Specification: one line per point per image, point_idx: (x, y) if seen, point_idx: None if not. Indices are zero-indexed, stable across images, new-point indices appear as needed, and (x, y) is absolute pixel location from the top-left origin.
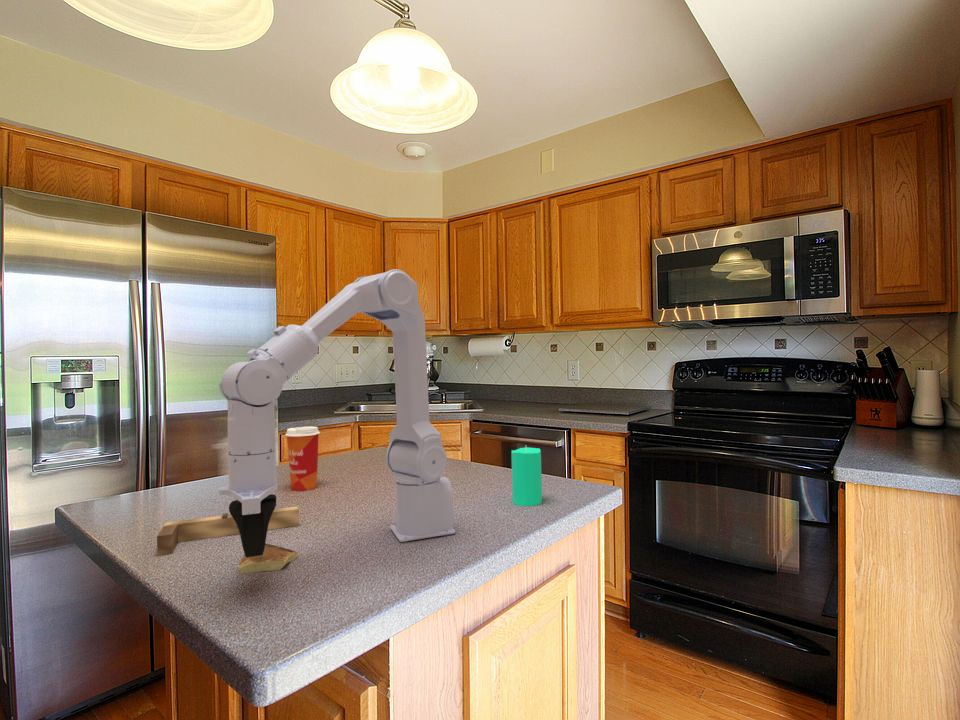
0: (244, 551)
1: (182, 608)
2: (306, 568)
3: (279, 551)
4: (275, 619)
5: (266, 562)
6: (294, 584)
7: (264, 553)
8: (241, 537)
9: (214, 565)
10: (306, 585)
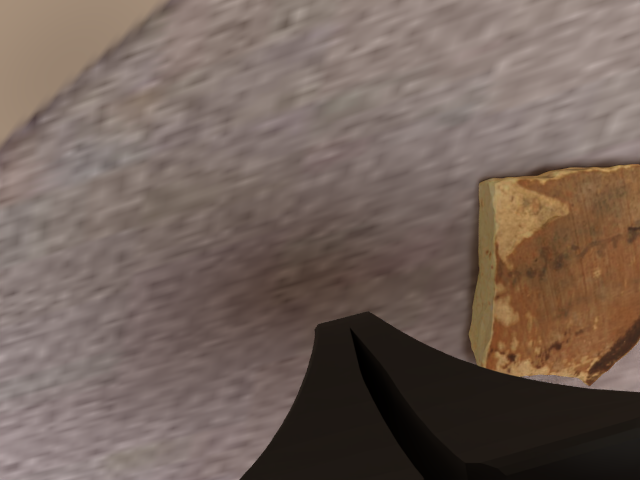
0: (316, 336)
1: (156, 40)
2: None
3: (608, 323)
4: (15, 439)
5: (492, 303)
6: None
7: (604, 266)
8: (303, 383)
9: (625, 26)
10: None
